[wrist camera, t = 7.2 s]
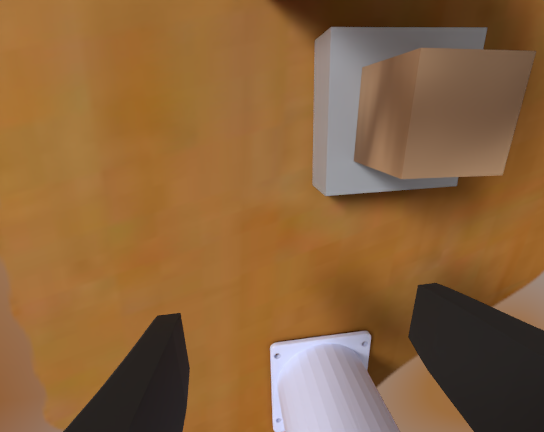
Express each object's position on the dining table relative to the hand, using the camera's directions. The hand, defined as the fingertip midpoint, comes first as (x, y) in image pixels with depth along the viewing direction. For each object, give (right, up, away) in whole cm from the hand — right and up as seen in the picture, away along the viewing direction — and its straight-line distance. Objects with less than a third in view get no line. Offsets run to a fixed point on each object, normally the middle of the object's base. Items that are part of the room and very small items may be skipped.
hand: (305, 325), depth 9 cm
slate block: (+5, +9, +9) cm, 14 cm away
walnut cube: (+6, +8, +6) cm, 12 cm away
